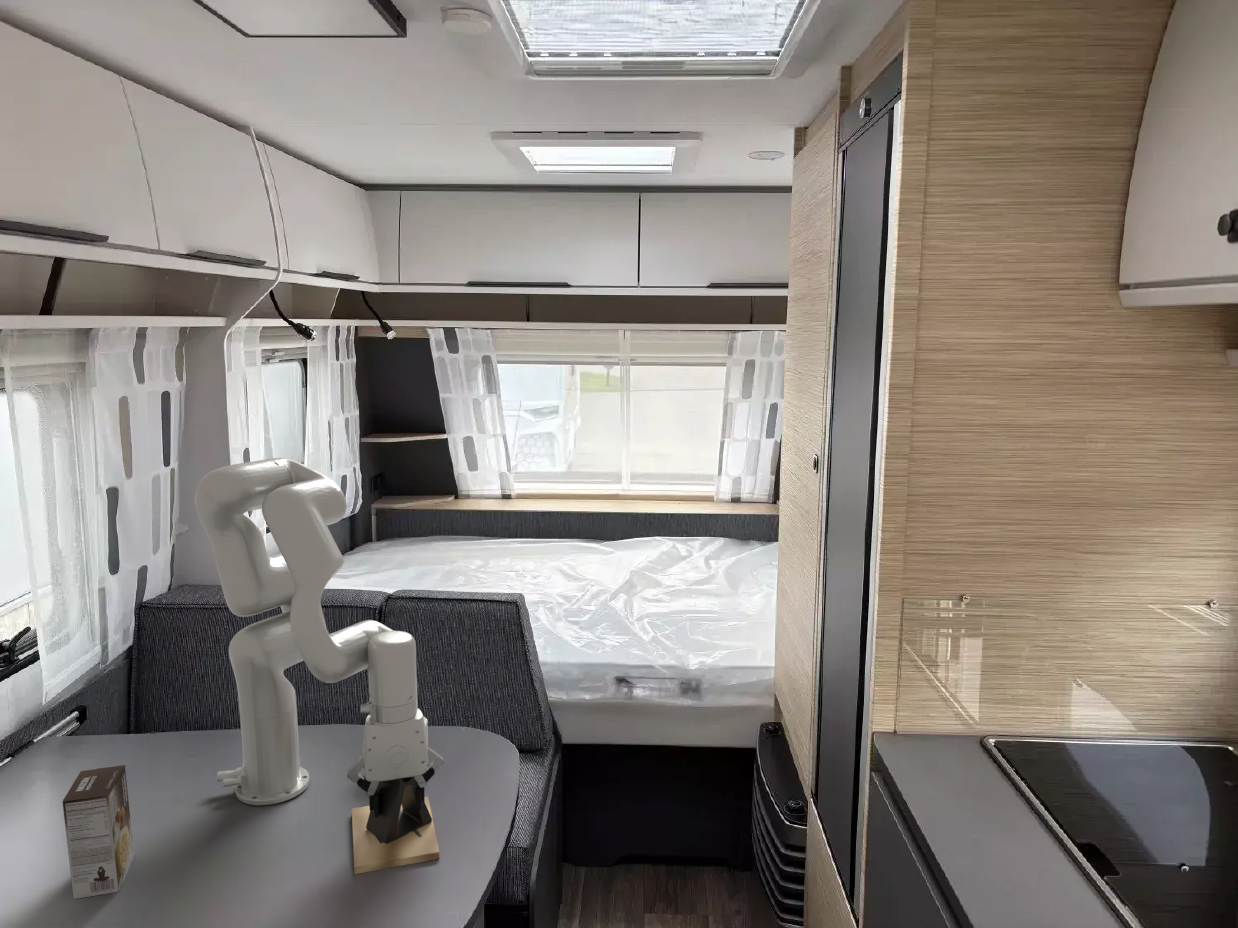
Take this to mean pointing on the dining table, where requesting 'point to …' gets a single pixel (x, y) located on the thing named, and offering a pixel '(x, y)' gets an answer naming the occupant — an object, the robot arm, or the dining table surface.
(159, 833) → the dining table surface
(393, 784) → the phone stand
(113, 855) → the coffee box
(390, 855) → the marked board
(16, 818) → the dining table surface
